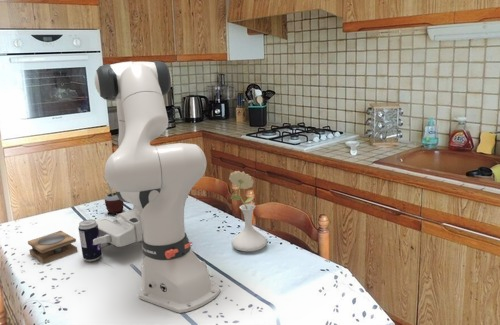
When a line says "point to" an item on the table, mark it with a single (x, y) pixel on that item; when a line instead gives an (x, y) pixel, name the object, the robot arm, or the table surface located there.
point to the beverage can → (89, 240)
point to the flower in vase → (246, 217)
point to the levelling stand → (52, 246)
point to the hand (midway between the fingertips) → (87, 239)
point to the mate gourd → (113, 203)
